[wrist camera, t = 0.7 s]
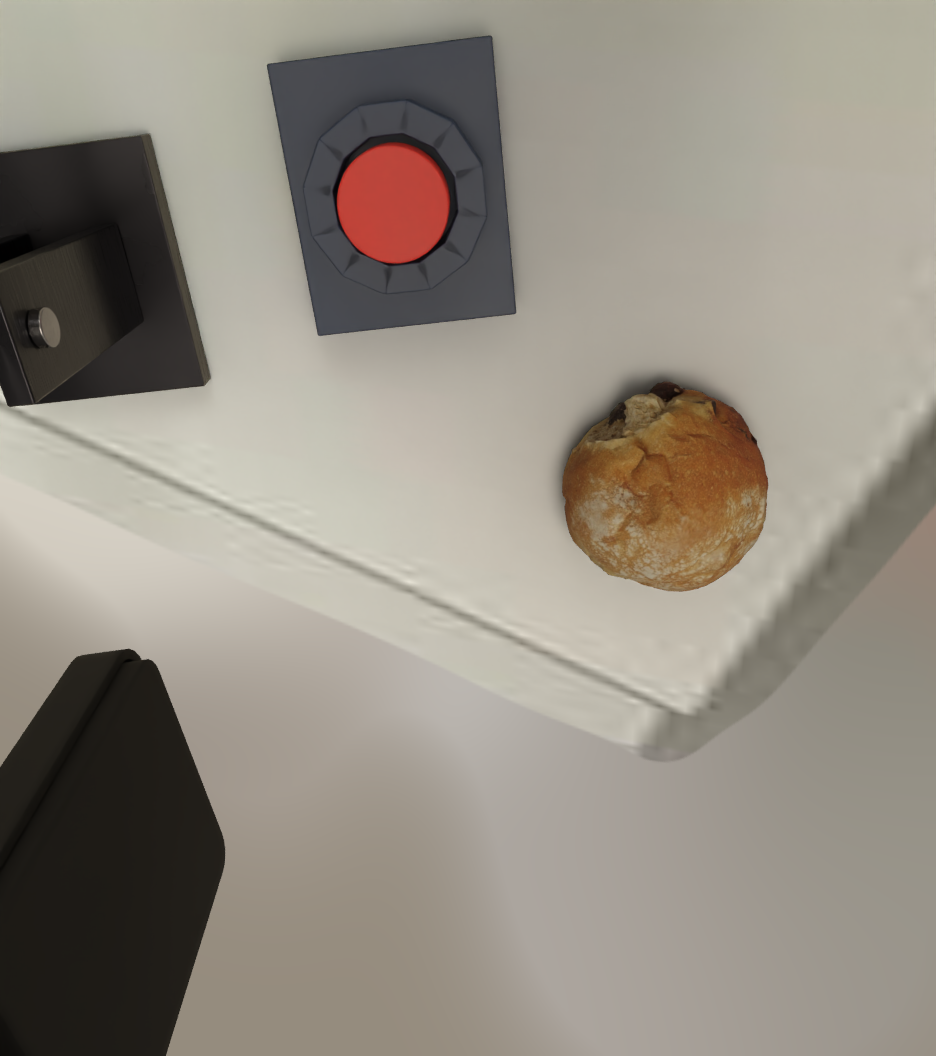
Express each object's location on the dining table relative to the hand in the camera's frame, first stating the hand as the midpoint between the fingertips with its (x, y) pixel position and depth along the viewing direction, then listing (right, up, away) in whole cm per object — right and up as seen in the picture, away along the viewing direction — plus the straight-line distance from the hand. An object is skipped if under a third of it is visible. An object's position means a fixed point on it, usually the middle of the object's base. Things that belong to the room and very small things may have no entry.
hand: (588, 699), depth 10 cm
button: (-4, +15, +27) cm, 31 cm away
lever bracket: (-19, +14, +32) cm, 39 cm away
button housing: (-4, +17, +30) cm, 35 cm away
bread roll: (+8, +5, +36) cm, 38 cm away
